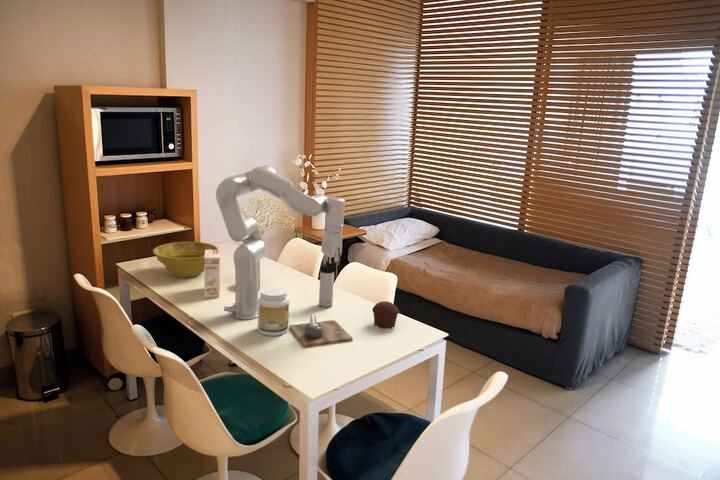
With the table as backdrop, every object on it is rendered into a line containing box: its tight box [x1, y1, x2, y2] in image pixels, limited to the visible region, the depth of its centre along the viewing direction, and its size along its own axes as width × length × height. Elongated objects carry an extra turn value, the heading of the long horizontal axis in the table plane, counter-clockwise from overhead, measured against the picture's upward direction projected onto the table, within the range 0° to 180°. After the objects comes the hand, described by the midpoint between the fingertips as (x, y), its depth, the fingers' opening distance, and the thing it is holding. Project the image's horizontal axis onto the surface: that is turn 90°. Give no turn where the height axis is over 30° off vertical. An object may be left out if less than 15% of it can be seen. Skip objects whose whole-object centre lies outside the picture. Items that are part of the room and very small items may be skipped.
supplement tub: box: [257, 286, 290, 337], centre depth 211 cm, size 12×12×17 cm
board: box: [288, 319, 353, 348], centre depth 212 cm, size 20×19×1 cm
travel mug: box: [318, 263, 335, 309], centre depth 241 cm, size 6×7×20 cm
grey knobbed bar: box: [305, 314, 323, 339], centre depth 212 cm, size 16×7×4 cm, turn 7°
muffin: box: [372, 300, 400, 330], centre depth 225 cm, size 12×11×10 cm
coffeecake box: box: [203, 249, 221, 299], centre depth 249 cm, size 15×7×20 cm, turn 14°
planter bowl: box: [152, 241, 219, 278], centre depth 274 cm, size 32×32×13 cm
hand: (330, 271), depth 216 cm, fingers closed
